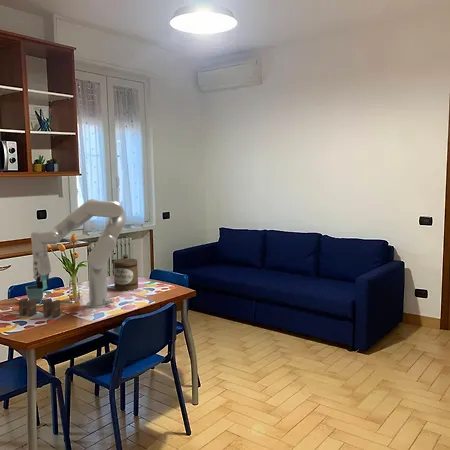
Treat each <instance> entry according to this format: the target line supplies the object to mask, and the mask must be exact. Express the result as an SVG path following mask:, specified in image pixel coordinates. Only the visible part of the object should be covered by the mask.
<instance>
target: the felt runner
mask: <svg viewBox="0 0 450 450" xmlns="http://www.w3.org/2000/svg"><path fill="white" fill-rule="evenodd" d="M65 315H66V314H65V313H60V316H58V317H57V318H52V315H51V316H49V317H48V318H44V314H43V312H37V314H35V315H33V316H31V317H28V316H27V314H26V315H24V316H19V314H18V315H16V316H15V318H24V319H25V318H26V319H39V320H40V319H42V320H58V319H60V318H62V317H63V316H65Z"/></svg>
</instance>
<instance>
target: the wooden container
mask: <svg viewBox="0 0 450 450" xmlns="http://www.w3.org/2000/svg"><path fill="white" fill-rule="evenodd" d="M113 273H114V275H113V276H114V278H113V279H114V281H113V282H114V290H115V291H119V292H129V291H128V290H131V291H135V290H137V289H139V272H138V259H136V258H130V257H129V255H128V254H123V255H122V258H120V259H119V258H118V259H115V260H113ZM134 289H135V290H134Z"/></svg>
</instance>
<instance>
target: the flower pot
mask: <svg viewBox="0 0 450 450" xmlns="http://www.w3.org/2000/svg"><path fill="white" fill-rule="evenodd" d="M25 291H26V296H27V298H28V301H29V300H31V299H36V304H38V303H39V304H40V303H41V302H43V301H42V300H43V297H44V290H39V289H37V284H35V285H27V286H25Z"/></svg>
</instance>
